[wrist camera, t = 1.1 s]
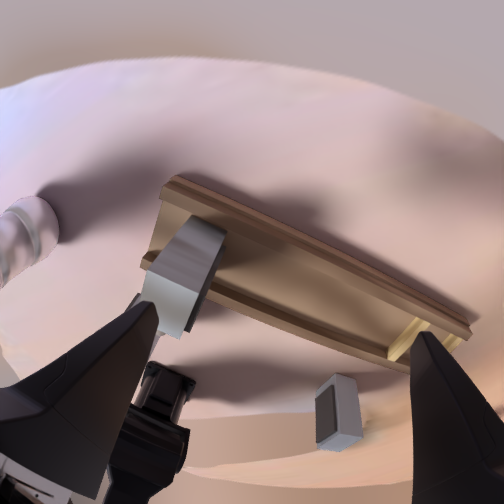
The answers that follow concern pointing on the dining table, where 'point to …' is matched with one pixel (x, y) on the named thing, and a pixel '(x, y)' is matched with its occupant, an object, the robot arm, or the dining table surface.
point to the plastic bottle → (26, 236)
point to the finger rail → (281, 281)
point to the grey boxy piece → (338, 414)
